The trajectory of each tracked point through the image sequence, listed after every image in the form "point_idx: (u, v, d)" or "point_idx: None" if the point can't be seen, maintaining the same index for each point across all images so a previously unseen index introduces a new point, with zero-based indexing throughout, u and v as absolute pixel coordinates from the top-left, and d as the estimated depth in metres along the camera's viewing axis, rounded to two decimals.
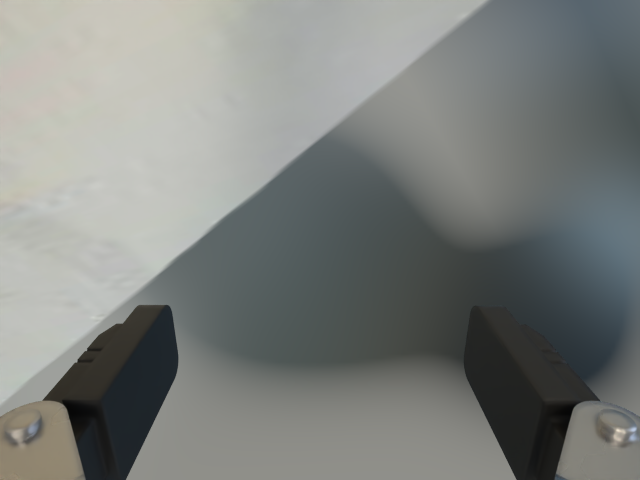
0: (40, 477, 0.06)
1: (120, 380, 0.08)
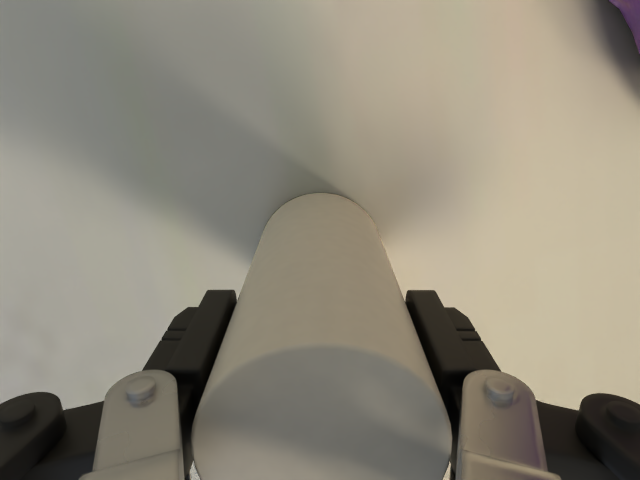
0: (145, 441, 0.06)
1: (209, 354, 0.09)
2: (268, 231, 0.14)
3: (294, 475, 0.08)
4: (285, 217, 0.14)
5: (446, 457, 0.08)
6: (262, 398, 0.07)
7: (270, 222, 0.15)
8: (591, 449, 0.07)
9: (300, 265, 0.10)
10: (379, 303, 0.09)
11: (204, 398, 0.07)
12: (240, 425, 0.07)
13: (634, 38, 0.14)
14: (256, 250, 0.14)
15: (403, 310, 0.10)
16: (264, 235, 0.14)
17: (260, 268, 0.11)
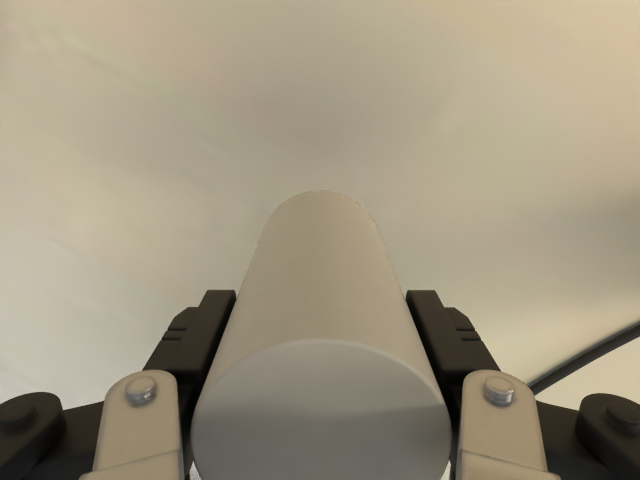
0: (145, 440, 0.07)
1: (209, 354, 0.09)
2: (268, 229, 0.14)
3: (294, 472, 0.08)
4: (285, 214, 0.14)
5: (446, 453, 0.08)
6: (261, 394, 0.07)
7: (270, 220, 0.15)
8: (591, 449, 0.07)
9: (299, 262, 0.10)
10: (379, 299, 0.09)
11: (203, 394, 0.07)
12: (239, 421, 0.07)
13: None
14: (256, 248, 0.14)
15: (403, 307, 0.09)
16: (264, 233, 0.14)
17: (260, 265, 0.11)
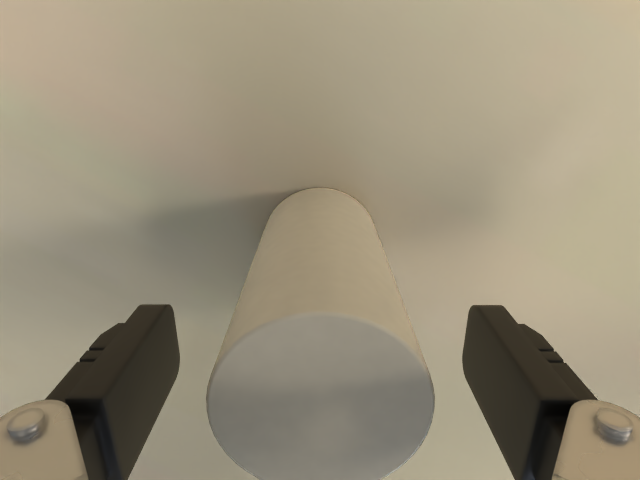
0: (43, 476, 0.06)
1: (122, 379, 0.08)
2: (271, 223, 0.15)
3: (297, 431, 0.09)
4: (287, 210, 0.15)
5: (429, 414, 0.09)
6: (268, 361, 0.08)
7: (273, 215, 0.16)
8: None
9: (301, 250, 0.11)
10: (372, 282, 0.10)
11: (218, 361, 0.08)
12: (250, 385, 0.09)
13: None
14: (260, 240, 0.15)
15: (394, 290, 0.11)
16: (267, 226, 0.15)
17: (265, 254, 0.12)
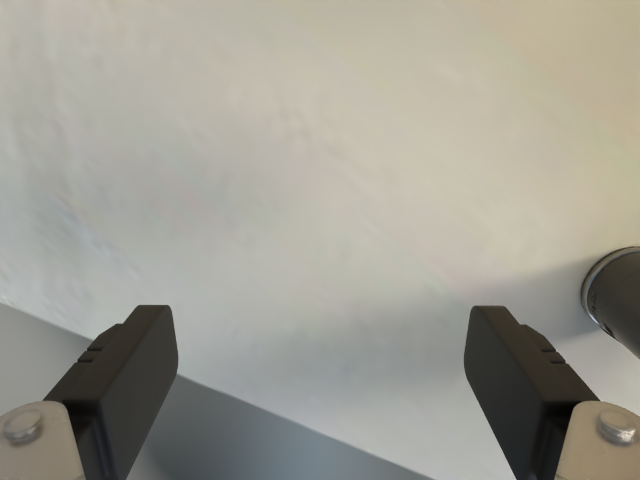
0: (40, 477, 0.06)
1: (120, 380, 0.08)
2: None
3: None
4: None
5: None
6: None
7: None
8: None
9: None
10: None
11: None
12: None
13: None
14: None
15: None
16: None
17: None
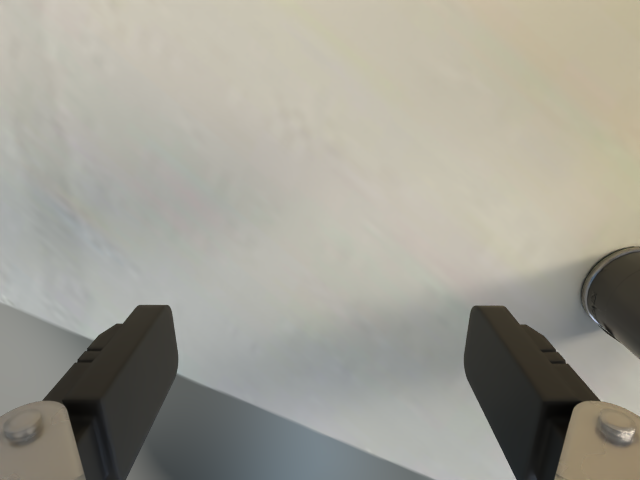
0: (40, 477, 0.06)
1: (120, 380, 0.08)
2: None
3: None
4: None
5: None
6: None
7: None
8: None
9: None
10: None
11: None
12: None
13: None
14: None
15: None
16: None
17: None
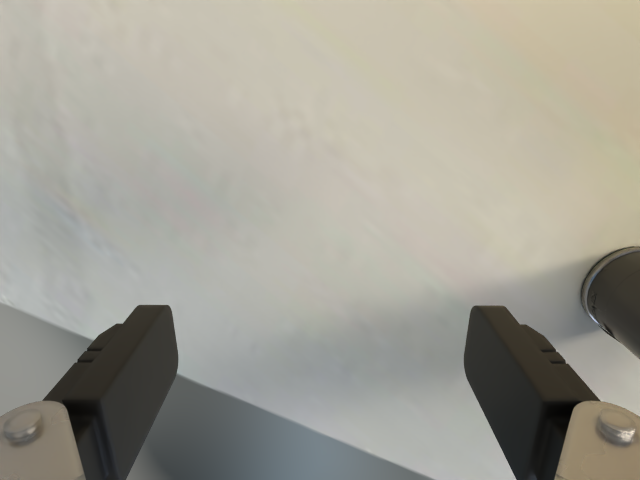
0: (40, 477, 0.06)
1: (120, 380, 0.08)
2: None
3: None
4: None
5: None
6: None
7: None
8: None
9: None
10: None
11: None
12: None
13: None
14: None
15: None
16: None
17: None
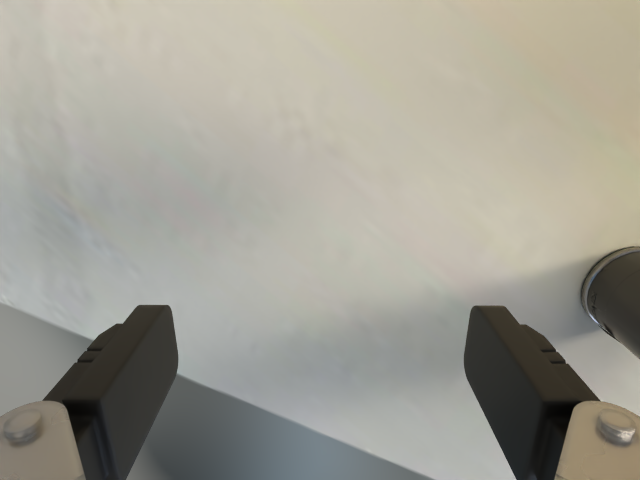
0: (40, 477, 0.06)
1: (120, 380, 0.08)
2: None
3: None
4: None
5: None
6: None
7: None
8: None
9: None
10: None
11: None
12: None
13: None
14: None
15: None
16: None
17: None
